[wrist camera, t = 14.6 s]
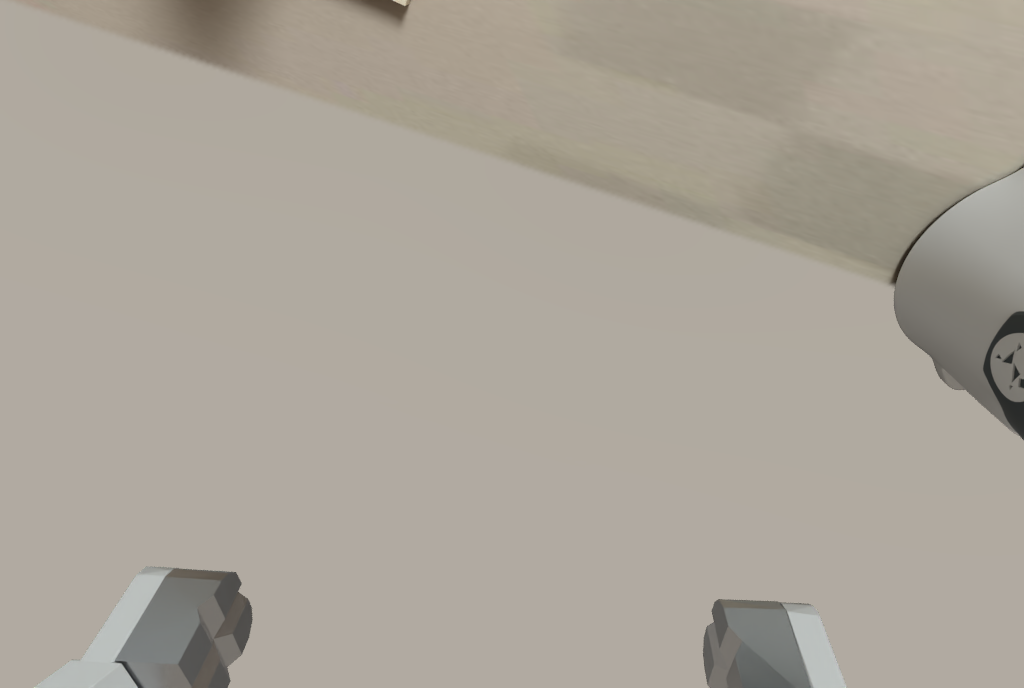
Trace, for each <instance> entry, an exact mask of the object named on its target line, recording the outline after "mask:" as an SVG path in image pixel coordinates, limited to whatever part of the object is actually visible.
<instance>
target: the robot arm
mask: <svg viewBox="0 0 1024 688" xmlns="http://www.w3.org/2000/svg"><path fill="white" fill-rule="evenodd" d="M894 309H895V314H896V318H897V321H898V323H899V325H900V327H901V329H902V331H903V332H904V333H905V335H906V336H907V337H908V338H909V339H910V340H911V341H912V342H913V343H914V344H915V345H917V346H918V347H919V348H921V349H922V350H923V351H925V352H926V353H927V354H929V355H930V356H931V357H932V359H933V362H934V365H935V368H936V371H937V373H938V375H939V377H940V378H941V379H942V380H943V381H944V382H945V383H946V384H947V385H948V386H949V387H951V388H952V389H956V390H966V391H967V392H969V394H971V395H972V396H973V397H974V398H975V399H976V400H977V401H978V402H979V403H980V404H981V405H982V406H984V407H985V408H986V409H987V410H988V411H989V412H990V413H991V414H993V415H994V416H995V417H996V418H997V419H998V420H999V421H1000V422H1001V423H1003V424H1004V425H1005V426H1006V427H1007V428H1008V429H1009V430H1011V431H1012V432H1013V433H1015V434H1017V435H1019V436H1020V437H1021V438H1022V439H1023V440H1024V167H1023V168H1022V169H1020V170H1019V171H1017V172H1015V173H1013V174H1011V175H1009V176H1008V177H1006V178H1003V179H1001V180H999V181H997V182H995V183H993V184H991V185H988V186H986V187H984V188H982V189H980V190H979V191H977V192H975V193H973V194H972V195H970V196H968V197H967V198H965V199H963V200H962V201H960V202H959V203H957V204H956V205H955V206H953V207H952V208H951V209H949V210H948V211H947V212H946V213H944V214H943V215H942V216H941V217H940V218H939V219H938V220H936V221H935V222H934V223H933V224H932V225H931V226H930V227H929V228H928V229H927V230H926V232H925V233H924V234H923V235H922V236H921V237H920V239H919V240H918V241H917V242H916V244H915V245H914V247H913V248H912V249H911V251H910V253H909V254H908V256H907V258H906V259H905V261H904V263H903V265H902V268H901V270H900V272H899V275H898V278H897V282H896V286H895V292H894ZM240 586H241V581H240V579H239V577H238V575H237V574H236V572H225V571H208V570H192V569H179V568H166V567H145V568H144V569H143V570H142V571H141V572H139V573H138V574H137V575H136V576H135V578H134V579H133V581H132V582H131V584H130V585H129V587H128V588H127V590H126V591H125V593H124V595H123V596H122V597H121V599H120V601H119V602H118V604H117V605H116V607H115V608H114V610H113V611H112V613H111V614H110V616H109V617H108V619H107V620H106V622H105V623H104V625H103V627H102V628H101V630H100V631H99V633H98V635H97V636H96V637H95V639H94V641H93V642H92V643H91V645H90V647H89V648H88V650H87V651H86V653H85V654H84V656H83V657H82V659H81V660H71V661H70V662H68V663H67V664H65V665H64V666H63V667H61V668H60V669H58V670H57V671H56V672H54V673H53V674H52V675H51V676H49V677H47V678H46V679H45V680H44V681H42V682H41V683H39V684H38V685H37V686H35V687H34V688H228V685H229V683H230V677H229V673H228V668H227V667H228V666H229V665H230V664H231V663H233V662H234V661H235V660H236V659H237V658H238V657H240V656H241V655H242V653H243V650H244V648H245V646H246V643H247V641H248V638H249V634H250V629H251V624H252V607H251V605H250V602H249V600H248V598H246V597H245V596H243V595H242V594H240V593H239V592H238V590H239V588H240ZM712 615H713V619H714V622H713V623H712V624H710V625H709V626H707V628H706V632H705V636H704V648H703V657H704V666H705V673H706V679H707V684H708V686H709V687H710V688H847V686H846V684H845V681H844V679H843V676H842V674H841V671H840V668H839V665H838V663H837V660H836V657H835V655H834V652H833V649H832V647H831V644H830V641H829V639H828V636H827V633H826V631H825V628H824V626H823V623H822V620H821V618H820V615H819V612H818V611H817V610H816V609H815V607H814V606H812V605H810V604H801V603H780V602H774V601H748V600H722V599H719V600H717V601H716V602H715V603H714V606H713V609H712Z"/></svg>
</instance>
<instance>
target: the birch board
mask: <svg viewBox="0 0 1024 688" xmlns="http://www.w3.org/2000/svg"><path fill="white" fill-rule="evenodd" d="M393 1H395V2H397V3H399V4H402V5H404V6H406V5H408V4H410V0H393Z"/></svg>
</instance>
